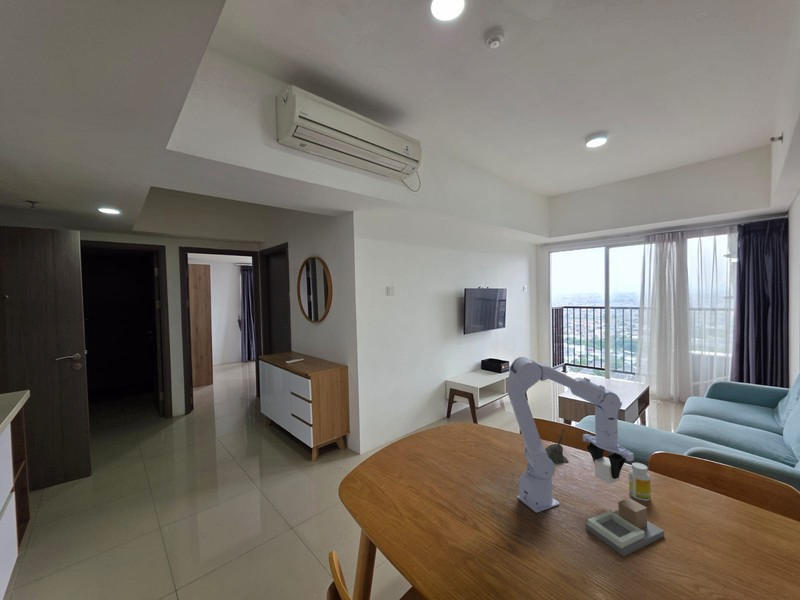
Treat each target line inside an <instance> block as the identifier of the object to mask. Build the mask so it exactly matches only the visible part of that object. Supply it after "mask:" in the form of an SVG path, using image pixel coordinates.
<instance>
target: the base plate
mask: <svg viewBox="0 0 800 600" xmlns="http://www.w3.org/2000/svg"><path fill="white" fill-rule="evenodd" d="M617 503H618V506H617V507H618V510H615V511H613V510H611V509H610V510H607V511H605V512H603V513H600V514H597V515H595V516H592V517H590V518H587V522H586V523H585V529H586V531H588V532H590V533H591V534H592V535H594V536H595V537H596V538H598V539H599V540H600V541H602V542H603V543H605V544H606V545H607V546H609V547H610V548H611V549H613V550H614V551H616V553H618V554H620V555H621V556H622V557H626V556H628V555H630V554H632V553H634V552H636V551H637V550H640V549H642V548H643V547H647V545H650V544H652V543H654V542H656V541H658V540H660V539H662V538H664V537H665V530H664V529H662V528H660V527H659V526H658V525H655V524H653V523H652V522H650V521H649V520H648V508H647V506H645V505H643V504H641V503H639V502H637V501H635V500H634V499H632V498H630V497H627V498H625V499H623V500H621V501H618V502H617Z"/></svg>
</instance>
